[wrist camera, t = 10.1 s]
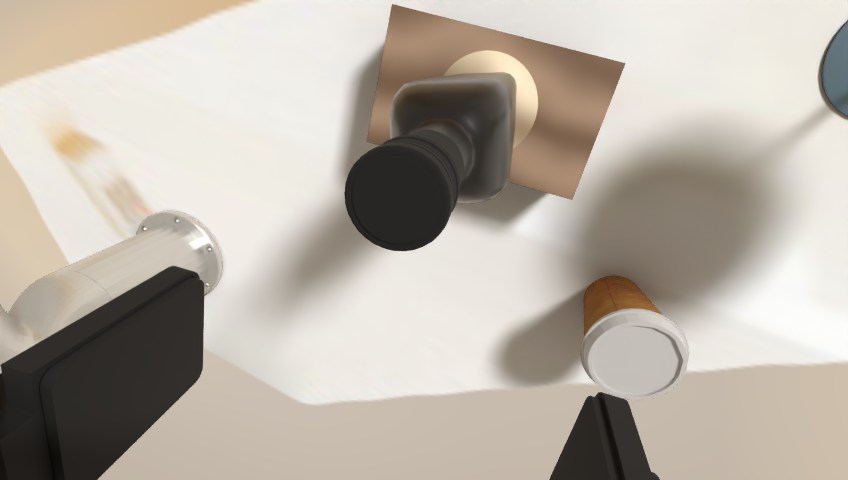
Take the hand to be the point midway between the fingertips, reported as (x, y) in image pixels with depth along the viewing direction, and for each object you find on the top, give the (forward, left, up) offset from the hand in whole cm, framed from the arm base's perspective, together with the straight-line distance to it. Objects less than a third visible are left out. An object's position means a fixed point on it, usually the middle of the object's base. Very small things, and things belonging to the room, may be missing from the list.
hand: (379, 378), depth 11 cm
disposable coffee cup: (-15, -19, -42) cm, 48 cm away
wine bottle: (+3, +1, -33) cm, 33 cm away
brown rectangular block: (+3, +1, -42) cm, 42 cm away
